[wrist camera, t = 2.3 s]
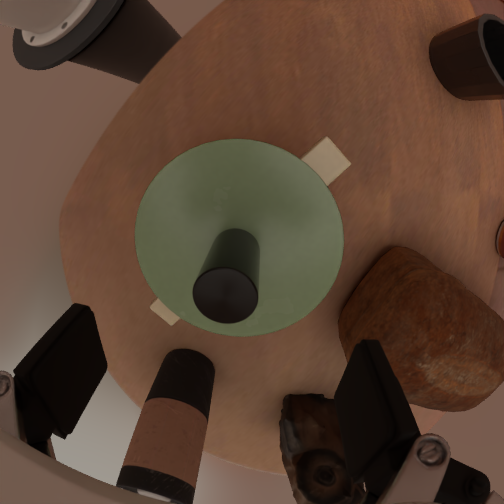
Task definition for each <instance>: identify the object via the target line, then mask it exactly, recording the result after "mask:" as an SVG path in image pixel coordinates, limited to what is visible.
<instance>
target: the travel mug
mask: <svg viewBox="0 0 504 504" xmlns="http://www.w3.org/2000/svg"><path fill="white" fill-rule="evenodd" d="M214 376H215V369H214V366H213V364H212V362H211V361H210V360H209V359H208V358H207V357H205V356H204V355H202V354H201V353H199V352H196V351H193V350H189V349H177V350H173V351H171V352H170V353H168V354H167V356H166V357H165V359H164V361H163V363H162V365H161V367H160V369H159V372H158V374H157V376H156V378H155V381H154V383H153V385H152V387H151V390H150V392H149V394H148V396H147V399H146V401H145V404H144V406H143V409H142V411H141V414H140V417H139V419H138V422H137V425H136V428H135V431H134V433H133V436H132V439H131V442H130V445H129V448H128V451H127V454H126V456H125V459H124V462H123V465H122V468H121V471H120V475H119V477H118V480H117V484H116V487H119V488H123V489H125V490H128V491H131V492H134V493H137V494H140V495H144V496H147V497H151V498H154V499H158V500H162V501H166V502H171V503H175V504H193V498H194V493H195V488H196V482H197V477H198V472H199V466H200V461H201V456H202V451H203V445H204V440H205V435H206V430H207V424H208V418H209V411H210V404H211V397H212V390H213V383H214Z"/></svg>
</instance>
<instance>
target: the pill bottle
mask: <svg viewBox="0 0 504 504" xmlns="http://www.w3.org/2000/svg"><path fill="white" fill-rule="evenodd" d="M496 245H497V250H498V253H499V254H500V256H502V257H503V258H504V221H503V223H502V224H501V226H500V229H499V231H498V235H497V241H496Z"/></svg>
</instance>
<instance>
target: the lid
mask: <svg viewBox="0 0 504 504" xmlns="http://www.w3.org/2000/svg"><path fill="white" fill-rule="evenodd" d="M135 247H136V253H137V257H138V262H139V265H140V267H141V270H142V273H143V275H144V277H145V279H146V281H147V283H148V284H149V286H150V287H151V289H152V290H153V292H154V293H155V295H156V296H157V297H158V298H159V299H160V301H161V302H162V303H163V304H164V305H165V306H166V307H167V308H168V309H170V310H171V311H172V312H173V313H175V314H176V315H177V316H179V317H180V318H181V319H183V320H185V321H186V322H188V323H190V324H192V325H194V326H196V327H198V328H201V329H203V330H206V331H209V332H213V333H217V334H221V335H227V336H238V337H241V336H257V335H263V334H268V333H272V332H275V331H278V330H281V329H283V328H286V327H288V326H290V325H292V324H294V323H296V322H297V321H299V320H300V319H302V318H303V317H305V316H306V315H308V314H309V313H310V312H311V311H312V310H313V309H315V308H316V307H317V305H318V304H319V303H320V302H321V301H322V300H323V299H324V297H325V296H326V295H327V293H328V292H329V290H330V289H331V287H332V285H333V283H334V281H335V279H336V277H337V274H338V272H339V269H340V266H341V262H342V257H343V250H344V232H343V224H342V219H341V215H340V212H339V209H338V206H337V204H336V201H335V199H334V197H333V195H332V194H331V192H330V190H329V188H328V187H327V185H326V184H325V183H324V181H323V180H322V179H321V178H320V176H319V175H318V174H317V173H316V172H315V171H314V170H313V169H312V168H311V167H310V166H309V165H308V164H306V163H305V162H304V161H302V160H301V159H299V158H298V157H297V156H295V155H293V154H292V153H290V152H288V151H286V150H284V149H282V148H280V147H277V146H274V145H271V144H268V143H265V142H260V141H255V140H249V139H225V140H217V141H213V142H208V143H204V144H202V145H199V146H197V147H194V148H191V149H189V150H188V151H186V152H184V153H182V154H180V155H179V156H177V157H176V158H174V159H173V160H172V161H171V162H169V163H168V164H167V165H166V166H165V167H164V168H163V169H162V170H161V171H160V172H159V173H158V174H157V175H156V176H155V178H154V179H153V180H152V182H151V183H150V185H149V186H148V188H147V190H146V192H145V194H144V196H143V198H142V200H141V203H140V206H139V209H138V212H137V217H136V223H135Z"/></svg>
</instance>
